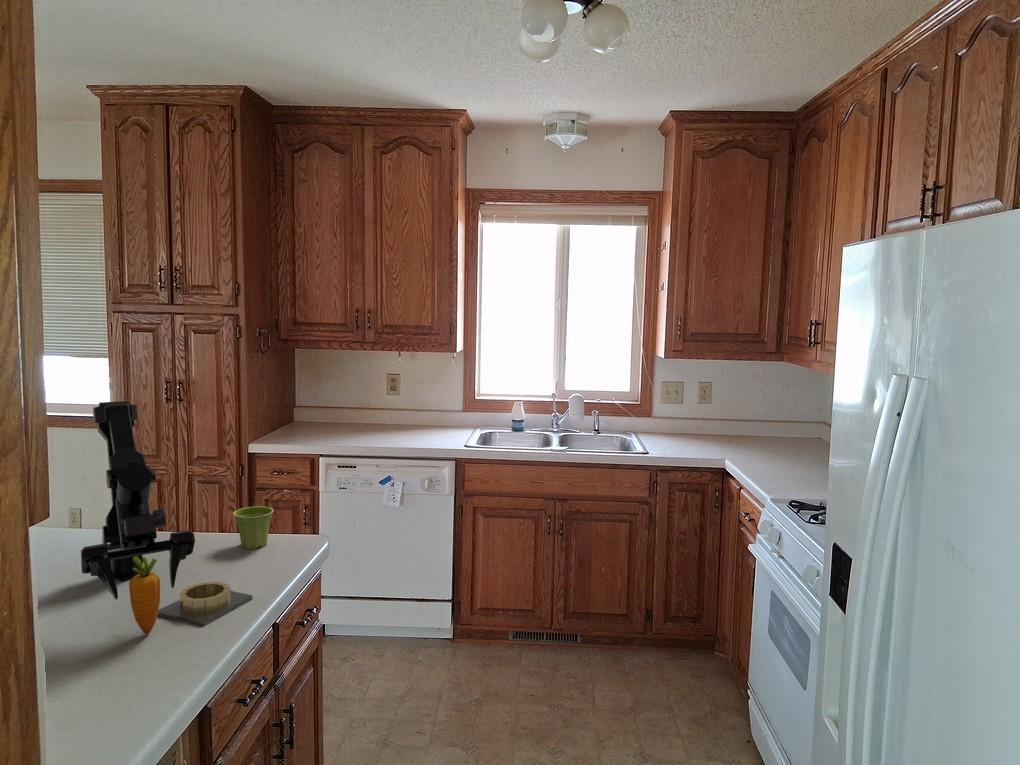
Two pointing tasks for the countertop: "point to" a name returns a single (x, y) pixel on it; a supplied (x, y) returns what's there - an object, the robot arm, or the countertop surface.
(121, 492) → the robot arm
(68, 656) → the countertop surface
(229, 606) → the collar plate
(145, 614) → the carrot
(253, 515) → the plant pot
